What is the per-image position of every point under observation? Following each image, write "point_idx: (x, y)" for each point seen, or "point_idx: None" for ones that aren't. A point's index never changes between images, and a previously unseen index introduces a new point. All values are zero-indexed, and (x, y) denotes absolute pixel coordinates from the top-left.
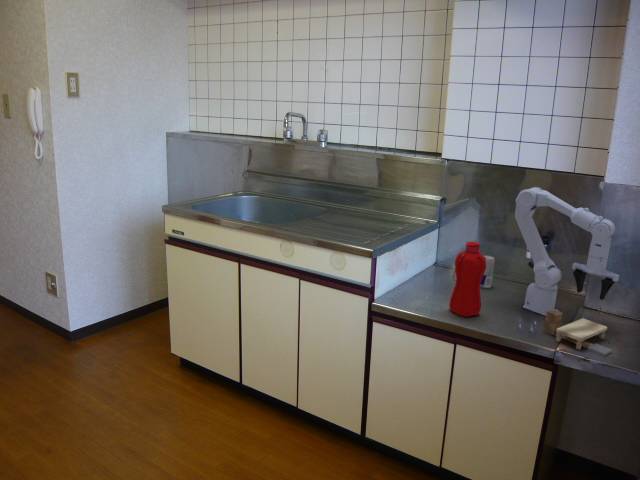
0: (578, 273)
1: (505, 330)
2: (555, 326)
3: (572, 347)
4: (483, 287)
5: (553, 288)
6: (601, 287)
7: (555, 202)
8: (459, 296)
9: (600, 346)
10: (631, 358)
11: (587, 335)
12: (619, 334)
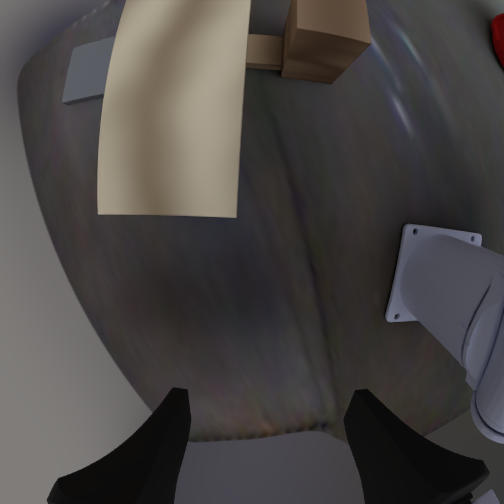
0: (451, 497)
1: None
2: (287, 18)
3: None
4: None
5: (486, 312)
6: (152, 462)
7: None
8: None
9: (95, 83)
10: (26, 129)
11: (121, 23)
12: (121, 303)
